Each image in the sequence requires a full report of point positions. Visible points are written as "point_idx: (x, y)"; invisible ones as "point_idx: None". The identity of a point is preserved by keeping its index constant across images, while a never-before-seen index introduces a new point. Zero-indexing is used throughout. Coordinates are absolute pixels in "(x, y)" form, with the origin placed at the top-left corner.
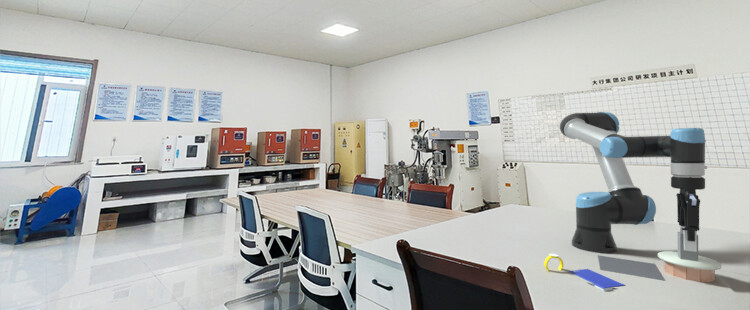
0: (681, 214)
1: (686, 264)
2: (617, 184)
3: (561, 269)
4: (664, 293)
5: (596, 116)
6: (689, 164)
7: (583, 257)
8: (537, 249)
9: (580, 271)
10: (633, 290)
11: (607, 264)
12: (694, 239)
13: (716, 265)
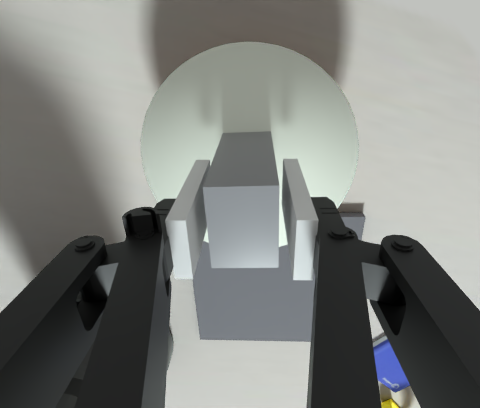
0: (164, 368)
1: (349, 185)
2: None
3: (391, 403)
4: (456, 228)
5: None
6: None
7: (227, 359)
8: None
9: (387, 376)
10: (460, 287)
11: (282, 326)
12: (335, 206)
13: (302, 71)
